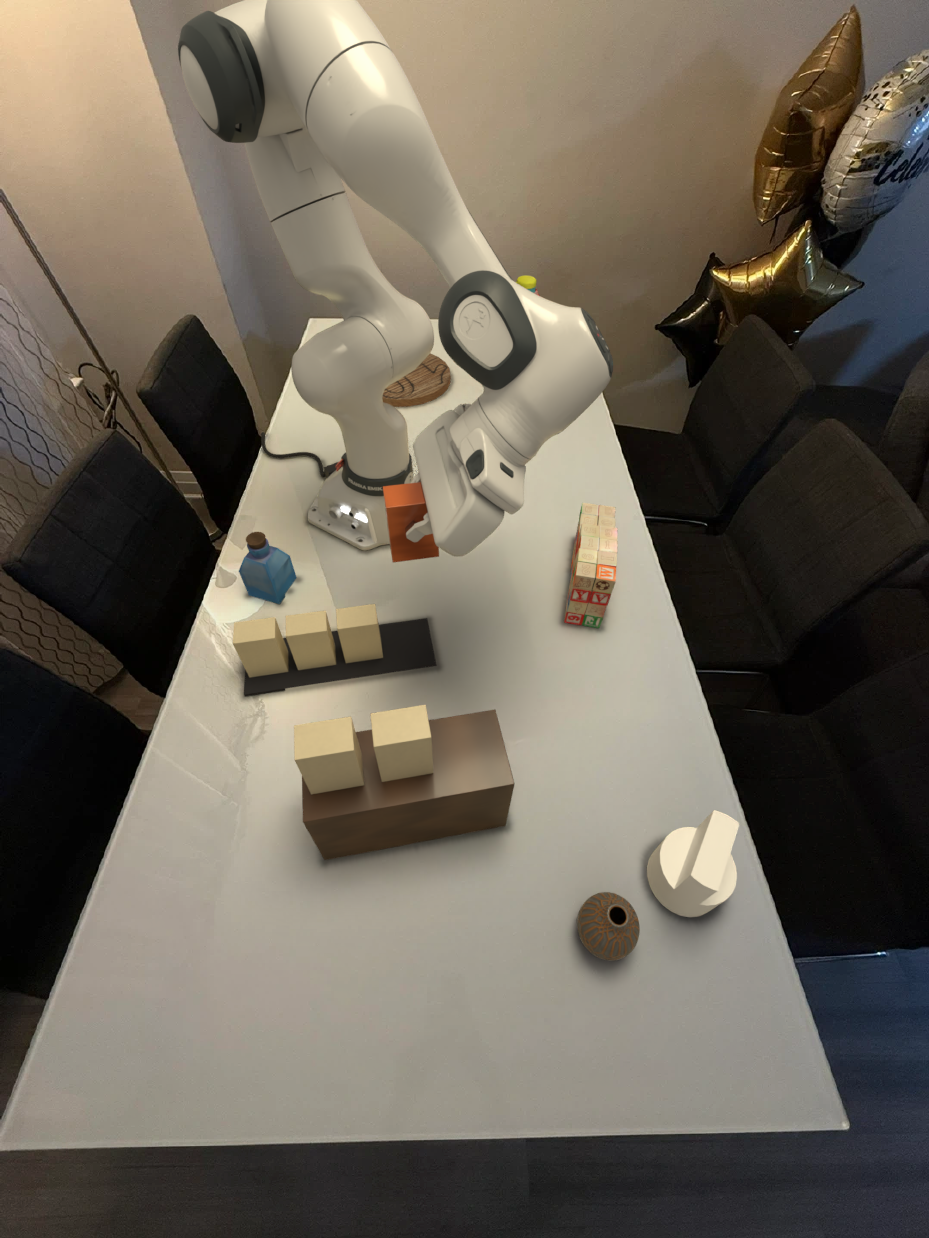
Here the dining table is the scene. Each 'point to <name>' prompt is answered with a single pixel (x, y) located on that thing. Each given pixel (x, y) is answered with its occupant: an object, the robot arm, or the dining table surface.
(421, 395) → the trivet
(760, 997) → the dining table surface
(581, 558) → the stack of blocks
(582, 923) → the vase
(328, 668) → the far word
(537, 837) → the dining table surface
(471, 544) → the robot arm
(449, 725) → the brown wooden block
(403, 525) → the orange wooden block
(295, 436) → the dining table surface
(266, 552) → the perfume bottle
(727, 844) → the cylinder with rectangular tab
